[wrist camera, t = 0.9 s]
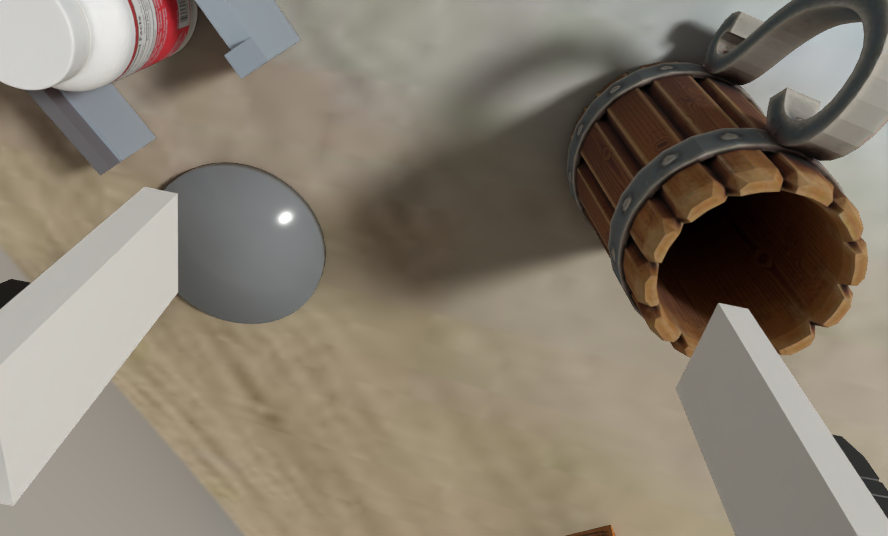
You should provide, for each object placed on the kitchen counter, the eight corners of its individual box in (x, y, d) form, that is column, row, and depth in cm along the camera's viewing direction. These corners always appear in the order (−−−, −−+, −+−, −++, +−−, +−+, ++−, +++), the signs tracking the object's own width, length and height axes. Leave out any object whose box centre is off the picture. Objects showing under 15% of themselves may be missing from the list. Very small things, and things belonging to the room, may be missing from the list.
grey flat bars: (-18, -43, 34) (-129, -35, 28) (147, -189, 30) (62, -217, 24) (141, 147, 38) (76, 190, 32) (300, 39, 35) (261, 65, 29)
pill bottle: (65, -2, 35) (-98, 28, 25) (124, -95, 32) (-29, -102, 23) (161, 81, 37) (45, 140, 27) (224, 0, 34) (122, 31, 25)
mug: (689, 258, 40) (790, 425, 27) (533, 199, 39) (560, 342, 26) (852, 8, 33) (1099, 67, 20) (668, -76, 32) (801, -73, 18)
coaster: (118, 215, 41) (111, 220, 40) (251, 128, 38) (247, 133, 37) (230, 341, 45) (226, 348, 44) (359, 273, 42) (357, 278, 41)
